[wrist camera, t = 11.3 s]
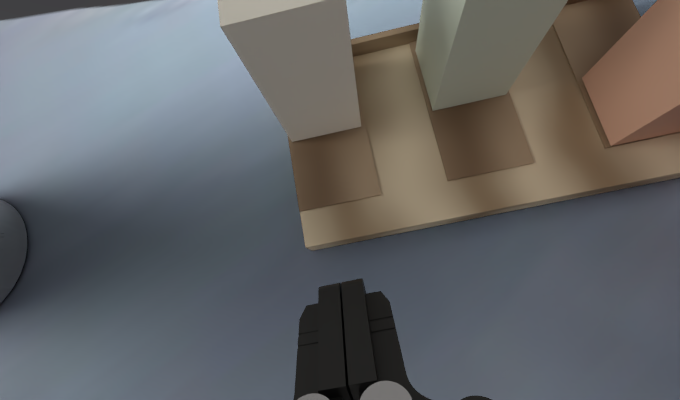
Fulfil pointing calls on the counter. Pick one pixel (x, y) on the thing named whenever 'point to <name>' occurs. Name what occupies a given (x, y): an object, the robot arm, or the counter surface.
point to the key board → (471, 139)
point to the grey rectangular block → (297, 61)
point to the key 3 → (640, 78)
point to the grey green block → (478, 45)
